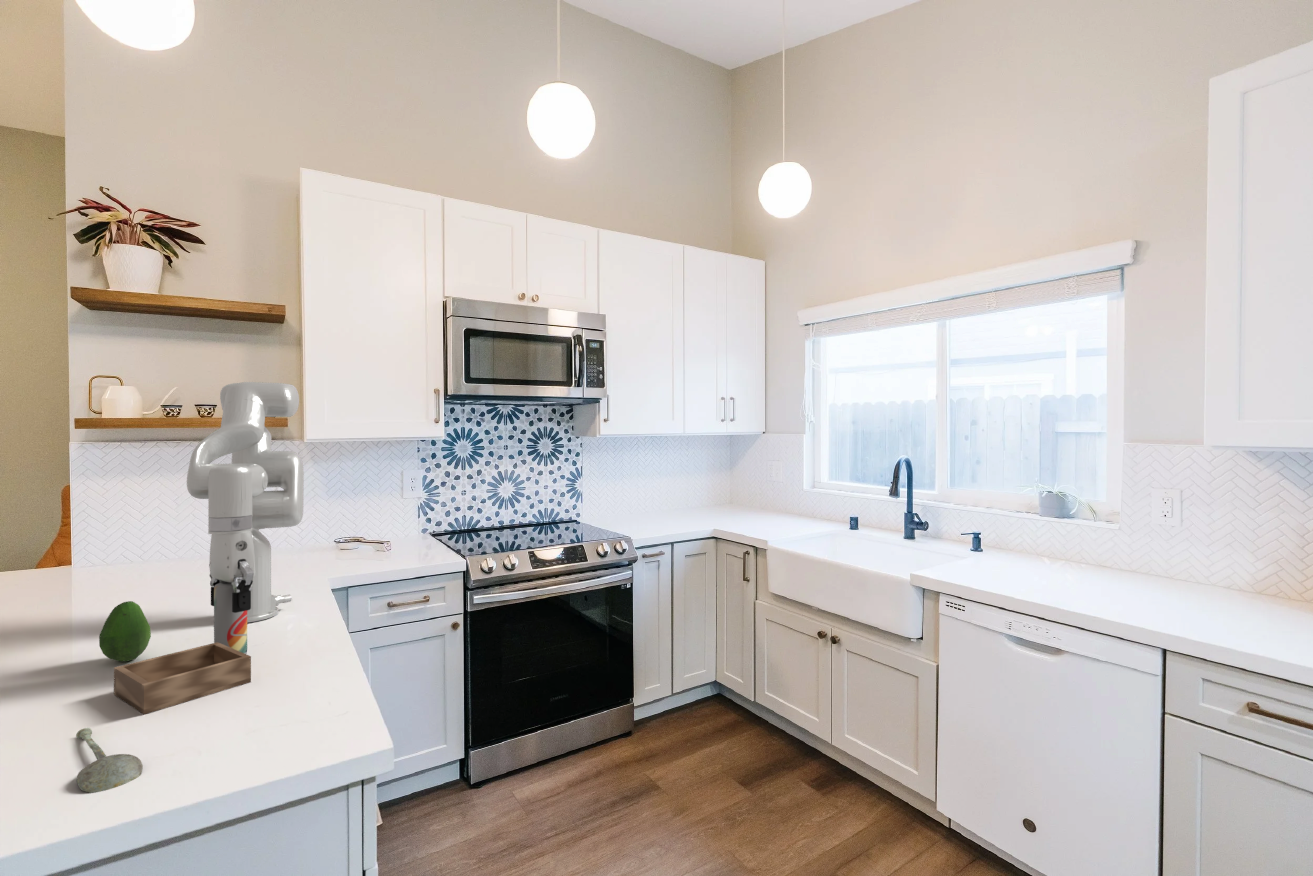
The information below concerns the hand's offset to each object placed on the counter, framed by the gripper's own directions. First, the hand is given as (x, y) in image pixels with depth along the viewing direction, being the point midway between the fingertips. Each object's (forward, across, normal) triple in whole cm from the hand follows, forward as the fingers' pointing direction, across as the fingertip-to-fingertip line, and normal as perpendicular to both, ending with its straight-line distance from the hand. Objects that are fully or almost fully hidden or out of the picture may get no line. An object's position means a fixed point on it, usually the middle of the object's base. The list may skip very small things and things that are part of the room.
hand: (230, 607), depth 127 cm
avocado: (+10, +16, +13) cm, 23 cm away
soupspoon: (+12, -29, +28) cm, 42 cm away
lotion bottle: (+10, +1, 0) cm, 10 cm away
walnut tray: (+10, -10, +12) cm, 19 cm away
